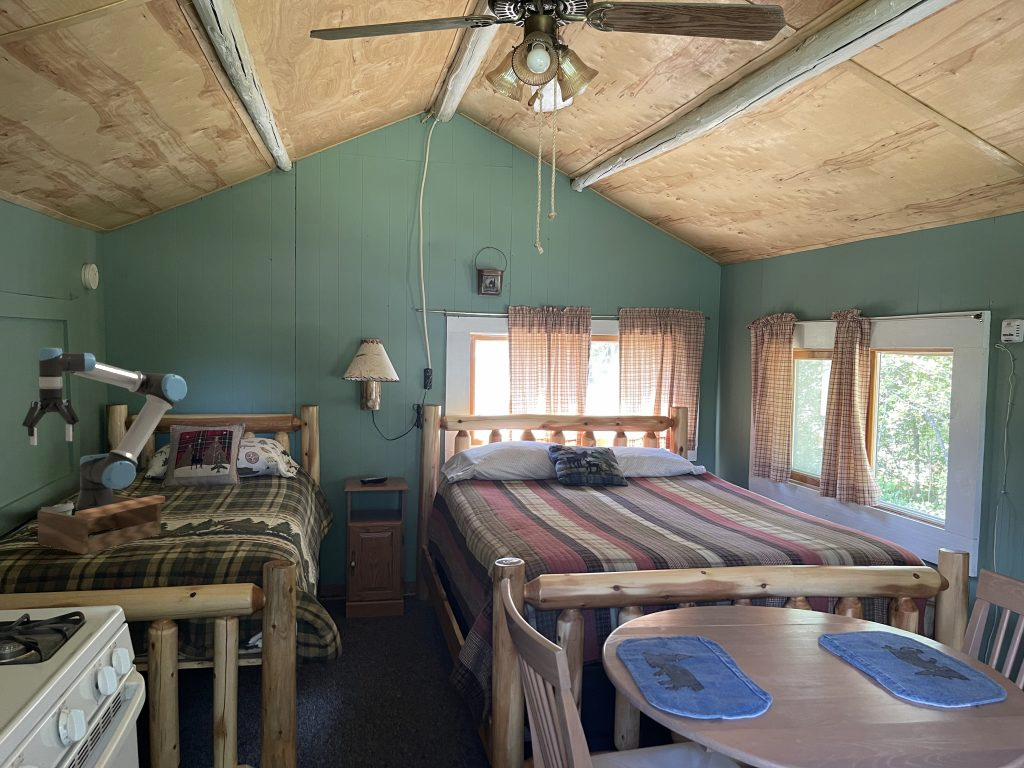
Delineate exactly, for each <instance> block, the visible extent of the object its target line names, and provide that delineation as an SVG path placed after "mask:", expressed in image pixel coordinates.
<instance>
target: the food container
mask: <svg viewBox="0 0 1024 768" xmlns="http://www.w3.org/2000/svg"><path fill="white" fill-rule="evenodd" d="M73 509H75V506H74V503H73V501H72V500H67V501H66V502H64V503H60V504H54V505H52V506H41V508H40V510H45V511H51V512H56V513H62V514H68V515H72V511H73Z"/></svg>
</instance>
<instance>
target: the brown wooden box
mask: <svg viewBox="0 0 1024 768" xmlns="http://www.w3.org/2000/svg"><path fill="white" fill-rule="evenodd" d="M134 499H139V498H137V497H133V496H125V495H117V494H114V496H113V504H115V503H120V502H125V501H130V500H134ZM161 504H162V503H157V504H153V505H148V506H144V507H139V508H135V509H130V510H126V511H121V512H117V513H112V514H108V515H103V516H99V517H94V518H90V519H79V518H75V515H68V514H62V513H56V512H51V511H45V510H41V509H39V510H37V545H38V544H42V545H46V546H51V547H55V548H54V549H56V548H60V549H63V550H62V551H65V550H67V551H66V552H70V551H71V553H75V552H76V553H75V554H81V555H86V554H91V553H93V552H94V553H95V552H97V551H98V552H99V551H100V550H102V551H103V550H104V549H108V548H112V547H113V548H114V547H116V546H119V545H123V544H128V543H130V542H134V541H135V542H136V541H139V540H142V539H146V538H149V537H153V536H158V535H161V534H162V522H161V521H162V516H161V515H162V511H161V508H162V507H161ZM118 527H119V528H120V529H119V528H118ZM113 528H114V529H115V528H118V529H115V530H112V531H108V532H107V531H106V532H104V533H100V534H99V533H98V532H101V530H102V531H105V530H110V529H113ZM93 532H94V533H98V534H95V535H92V536H89V534H93ZM46 546H45V547H46ZM51 547H50V548H51ZM60 549H59V550H60Z"/></svg>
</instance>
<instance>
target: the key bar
mask: <svg viewBox="0 0 1024 768" xmlns="http://www.w3.org/2000/svg"><path fill="white" fill-rule="evenodd" d="M165 502H166V497H165V496H163V495H157V494H154V495H150V496H149V495H148V496H145V497H141V498H139V499H134V500H130V501H125V502H120V503H115V504H110V505H106V506H101V507H96V508H91V509H87V510H82V511H74V516H75V518H79V519H87V520H88V519H92V518H97V517H101V516H106V515H110V514H113V513H117V512H121V511H126V510H130V509H135V508H139V507H144V506H148V505H153V504H157V503H161V504H162V503H165Z"/></svg>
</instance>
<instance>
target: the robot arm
mask: <svg viewBox="0 0 1024 768" xmlns="http://www.w3.org/2000/svg"><path fill="white" fill-rule="evenodd" d="M63 373H67V374H71V375H75V376H80V377H83V378H87V379H91V380H95V381H98V382H102V383H106V384H110V385H114V386H117V387H121V388H124V389H128V391H129V392H130V393H131V392H132V393H135V394H138V395H140V396H144V397H146V402H145V404H144V405H143V407H142V409H140V411H139V413H138V414H137V416H136V417H135V419H134V420H133V422H132V423H131V425H130V427H129V429H127V431H126V433H125V435H124V437H123V438H122V440H121V441H120V442H119V444H118V446H117V447H116V449H112V450H110V451H109V453H99V454H90V455H83V456H82V457H80V459H79V483H80V484H79V485H80V489H79V490H80V491H79V495H78V497H77V500H76V503H75V511H76V510H78V511H82V510H87V509H91V508H96V507H101V506H106V505H110V504H113V496H115V494H114V491H113V490H121V489H125V488H127V487H128V486H130V485H131V484H132V483H133V482H134V480H135V478H136V476H137V472H136V469H137V466H138V459H137V458H138V457H139V455H140V453H141V452H142V450H143V449H144V447H145V445H146V444H147V442H148V440H149V439H150V437H151V436H152V434H153V432H154V431H155V429H156V427H157V426H158V424H159V423H160V421H161V420H162V418H163V416H164V415H165V413H166V411H168V410H171V409H173V408H174V406H175V404H176V403H177V402H180V401H183V399H184V398H186V395H187V394H188V393H187V392H188V386H187V382H186V380H185V379H184V378H183V377H182V376H180V375H178V374H174V373H156V372H155V373H154V372H151V373H150V372H144V371H141V370H136V371H131V370H127V369H123V368H120V367H117V366H113V365H109V364H106V363H103V362H98V361H96V356H95V355H94V354H93V353H91V352H63V349H62V348H61V347H41V348H40V349H39V350H38V377H39V378H38V380H39V383H38V385H39V386H38V387H39V390H38V391H39V392H38V394H39V396H38V398H39V401H33V400H32V401H31V402H30V406H29V409H28V412H27V413H26V415H25V418H24V420H23V422H22V424H21V426H22V427H24V428H27V436H28V437H29V439H30V440H29V444H30V445H31V446H37V445H38V438H37V437H38V435H37V431H38V429H37V427H36V426H37V425H38V423H39V422H40V420H41V419H42V418H43V417H44V415H46V414H47V413H58V414H59V415H60V417H62V418H63V420H64V421H65V422H66V424H65V442H73V433H74V431H75V428H74V427H75V425H76V423H79V422H80V420H79V417H78V416H77V413H76V412H75V410H74V408H73V406H72V403H71V402H72V401H71V399H68V398H67V399H66V398H65V399H63V395H64V394H63V391H64V390H63V389H62V387H63ZM62 406H64V407H62ZM39 407H40V408H39ZM38 408H39V409H38ZM37 410H38V411H37ZM65 410H66V411H65Z"/></svg>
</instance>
